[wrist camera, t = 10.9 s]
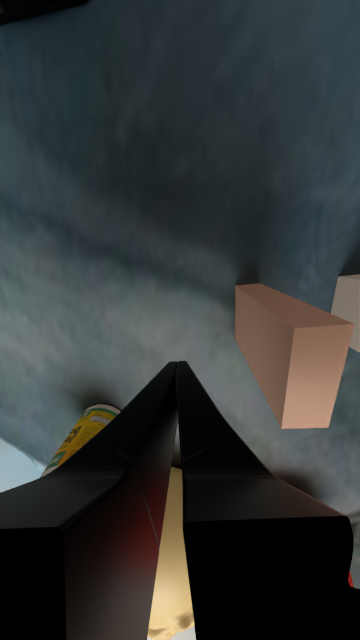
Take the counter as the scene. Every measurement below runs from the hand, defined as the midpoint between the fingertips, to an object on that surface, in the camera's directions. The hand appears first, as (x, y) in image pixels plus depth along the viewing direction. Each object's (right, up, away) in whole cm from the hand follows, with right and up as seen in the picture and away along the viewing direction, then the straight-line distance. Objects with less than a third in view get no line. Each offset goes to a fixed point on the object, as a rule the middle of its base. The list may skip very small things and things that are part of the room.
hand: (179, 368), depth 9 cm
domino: (+6, +3, +7) cm, 9 cm away
